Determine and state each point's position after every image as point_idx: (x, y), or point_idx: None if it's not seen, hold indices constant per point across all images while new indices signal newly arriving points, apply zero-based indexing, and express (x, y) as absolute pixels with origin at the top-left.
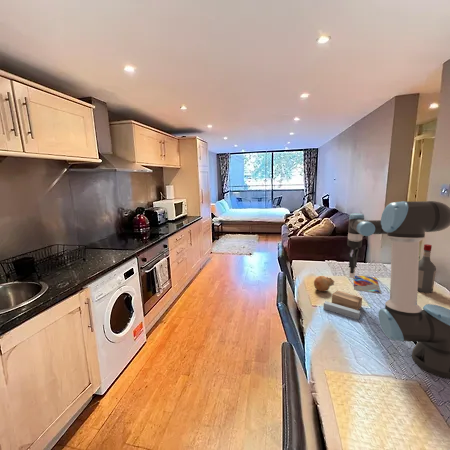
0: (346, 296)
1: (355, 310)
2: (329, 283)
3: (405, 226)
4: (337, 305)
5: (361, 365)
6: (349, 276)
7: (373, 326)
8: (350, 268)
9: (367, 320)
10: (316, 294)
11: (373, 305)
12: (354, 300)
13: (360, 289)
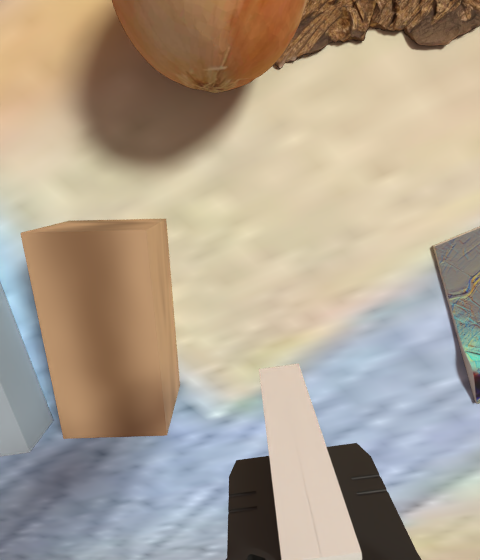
0: (89, 346)
1: (10, 431)
2: (239, 74)
3: None
4: None
5: None
6: (260, 379)
7: (27, 491)
8: (279, 531)
9: (57, 456)
10: (98, 32)
11: (261, 422)
12: (74, 415)
13: (462, 283)
